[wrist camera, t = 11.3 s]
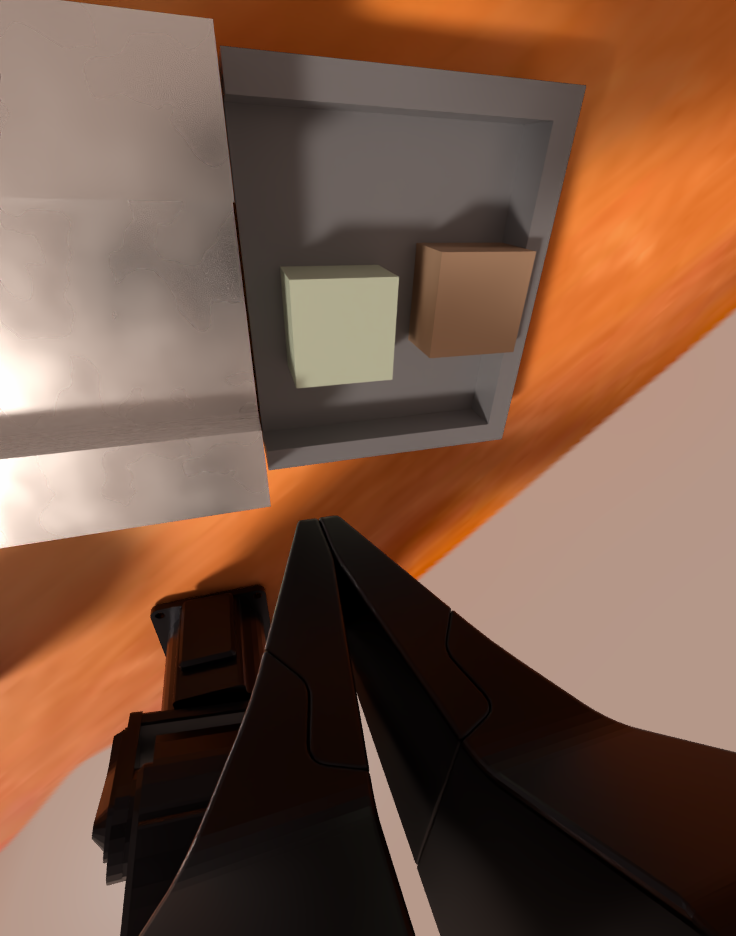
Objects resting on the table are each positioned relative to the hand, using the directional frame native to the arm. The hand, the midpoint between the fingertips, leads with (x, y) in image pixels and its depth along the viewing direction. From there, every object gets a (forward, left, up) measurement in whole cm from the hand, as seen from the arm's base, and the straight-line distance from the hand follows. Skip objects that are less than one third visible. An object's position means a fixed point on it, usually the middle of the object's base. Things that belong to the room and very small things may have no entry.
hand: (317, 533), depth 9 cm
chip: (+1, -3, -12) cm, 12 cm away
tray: (+2, -6, -12) cm, 14 cm away
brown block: (+2, -9, -9) cm, 13 cm away
